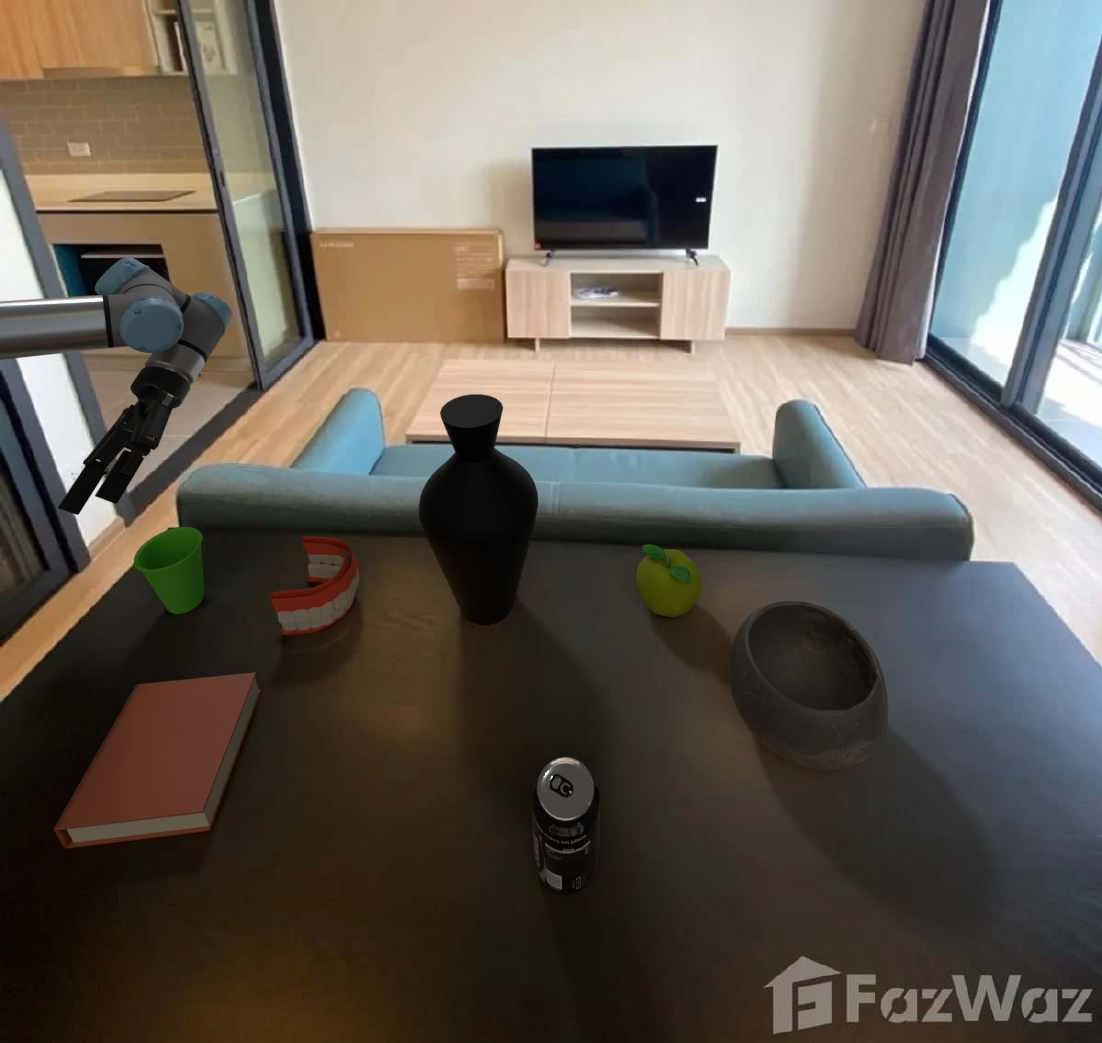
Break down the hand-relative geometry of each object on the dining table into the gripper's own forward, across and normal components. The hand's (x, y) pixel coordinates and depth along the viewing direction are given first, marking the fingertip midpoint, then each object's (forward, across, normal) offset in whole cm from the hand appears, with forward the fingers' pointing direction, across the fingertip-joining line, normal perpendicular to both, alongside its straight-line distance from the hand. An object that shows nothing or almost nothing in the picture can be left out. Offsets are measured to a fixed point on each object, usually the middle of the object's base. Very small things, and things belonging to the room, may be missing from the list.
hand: (86, 506), depth 82 cm
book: (+25, -12, -21) cm, 35 cm away
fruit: (-2, -56, -65) cm, 85 cm away
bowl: (+12, -73, -67) cm, 99 cm away
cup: (+7, +7, -22) cm, 24 cm away
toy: (+4, -12, -35) cm, 37 cm away
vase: (+1, -32, -49) cm, 59 cm away
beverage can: (+28, -54, -45) cm, 76 cm away
